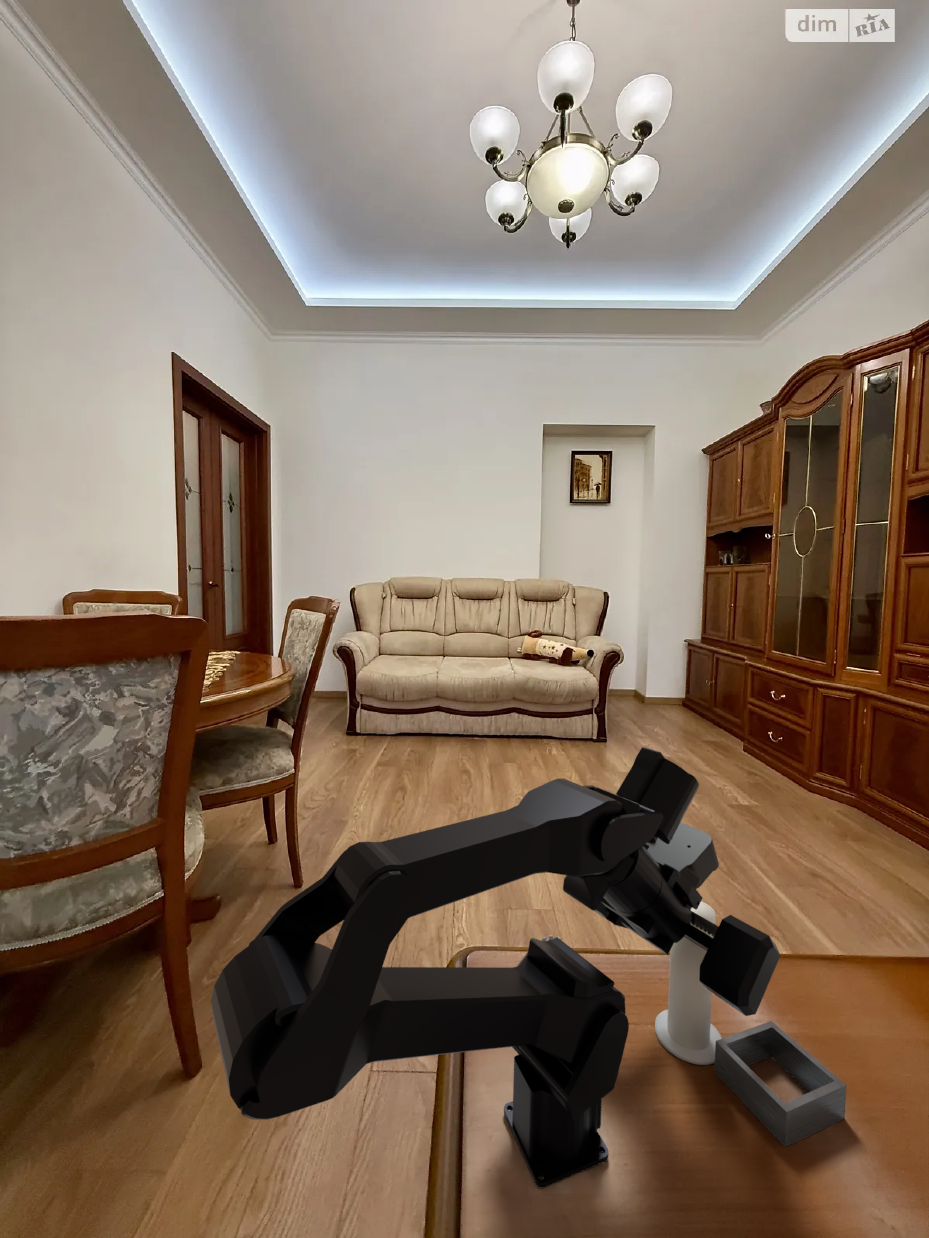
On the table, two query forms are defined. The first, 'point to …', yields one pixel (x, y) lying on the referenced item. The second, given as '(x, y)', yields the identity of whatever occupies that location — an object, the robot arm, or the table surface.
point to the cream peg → (689, 991)
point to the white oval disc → (681, 1052)
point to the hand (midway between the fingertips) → (699, 956)
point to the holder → (777, 1116)
